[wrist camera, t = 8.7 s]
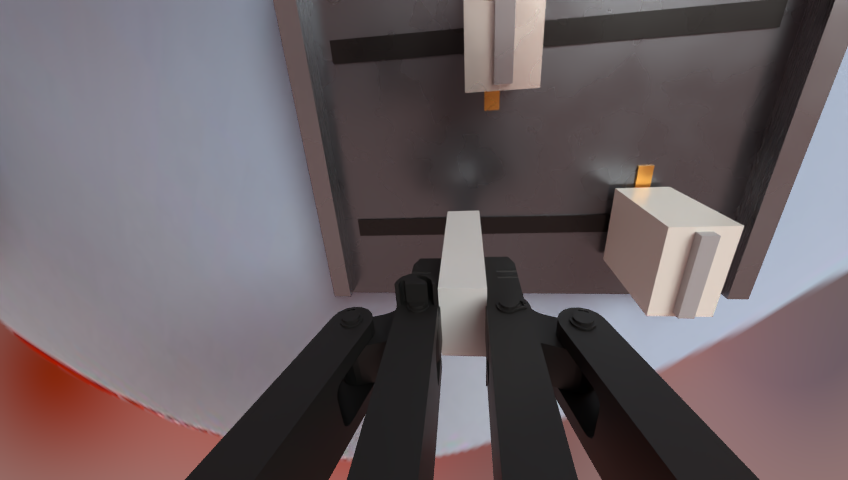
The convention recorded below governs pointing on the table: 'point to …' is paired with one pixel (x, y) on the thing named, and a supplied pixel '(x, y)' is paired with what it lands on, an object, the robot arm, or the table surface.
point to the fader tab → (670, 250)
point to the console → (549, 123)
